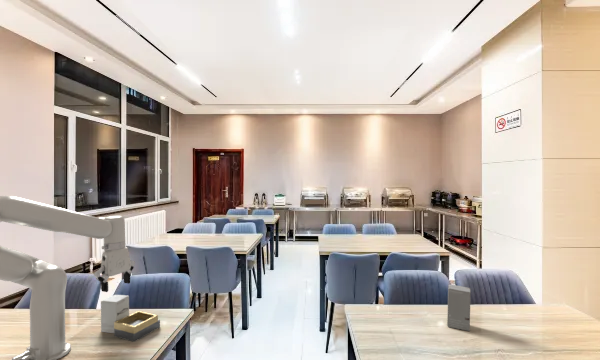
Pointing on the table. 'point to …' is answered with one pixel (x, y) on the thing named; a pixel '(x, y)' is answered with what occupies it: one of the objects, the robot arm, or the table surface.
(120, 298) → the supplement box
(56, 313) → the robot arm
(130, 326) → the gold-rimmed shallow tray
